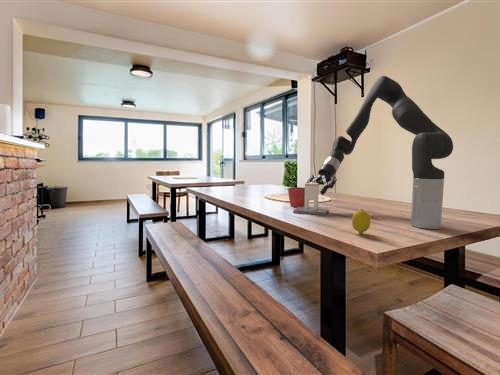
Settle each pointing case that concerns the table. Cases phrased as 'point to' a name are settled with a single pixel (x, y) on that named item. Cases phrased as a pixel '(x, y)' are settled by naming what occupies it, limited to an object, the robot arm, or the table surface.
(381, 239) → the table surface
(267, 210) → the table surface
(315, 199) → the stool
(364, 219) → the lemon
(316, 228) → the table surface
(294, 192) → the flower pot
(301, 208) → the trivet
